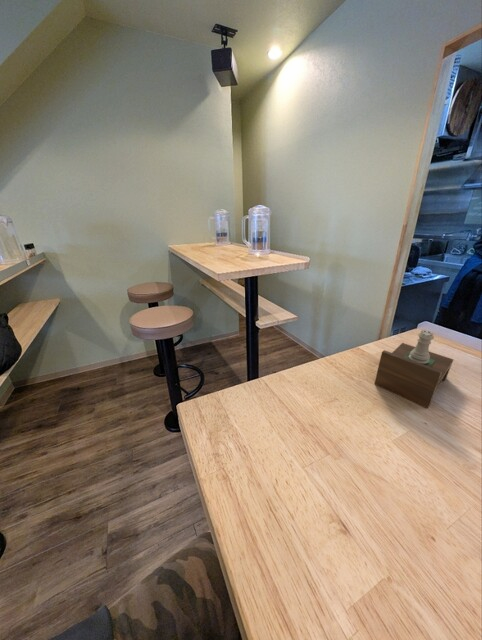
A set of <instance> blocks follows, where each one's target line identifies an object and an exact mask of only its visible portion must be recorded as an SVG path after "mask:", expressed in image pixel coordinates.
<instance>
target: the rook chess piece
mask: <svg viewBox="0 0 482 640" xmlns="http://www.w3.org/2000/svg"><path fill="white" fill-rule="evenodd" d="M417 336H418V338H417V344H416V345H415V346H414V347H415V349H413V350H412V351H411V352H410V355H409V358H410V360H413V361H416V362H418V363H421V364H426V363H428V362H429V359H430V355H429V352H430V351H429V347H430V345H431V344H432V342H431V341H432V340H434V339H435V337H434V333H433V332H431V331H430V330H428V331H427V330H426V329H424V330H420V332H419V333H417ZM428 351H429V352H428Z"/></svg>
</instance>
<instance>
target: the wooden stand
mask: <svg viewBox="0 0 482 640" xmlns="http://www.w3.org/2000/svg"><path fill="white" fill-rule="evenodd" d="M415 347H416V346H413V345H411V344H408V343H405V342H402V343H400V344H399V345H398V346H397V347H396V348H395V349H394V350H392V352H391V351H389V350H386V349H384V350H382V351H381V354H380V358H379V362H378V367H377V372H376V375H375V378H374V379H375V380H374V385H376V386H378V387H380V388H383V389H385V390H387V391H389V392H390V393H393V394H395V395H397V396H399V397H402V398H404V399H406V400H409V401H411V402H413V403H415V404H417V405H419V406H421V407H423V408H424V409H425V408H426V409H429V408H430V406H431V404H432V402H433V398H434V396H435V393H436V391H437V388H438V387H439V385H440V383H441V382H445V381H446V380H447V378H448V376H449V372H450V370H451V368H452V366H453V363H454V360H455V359H454V358H450V357H447V356H444V355H442V354H438V353H436V352H432V351H429V350H428V352H429V355H430V359H429V362H428V363H426V364H421V363H418V362H416V361H413V360H410V358H409V355H410V352H411V351H412V350H413V349H415Z"/></svg>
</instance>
